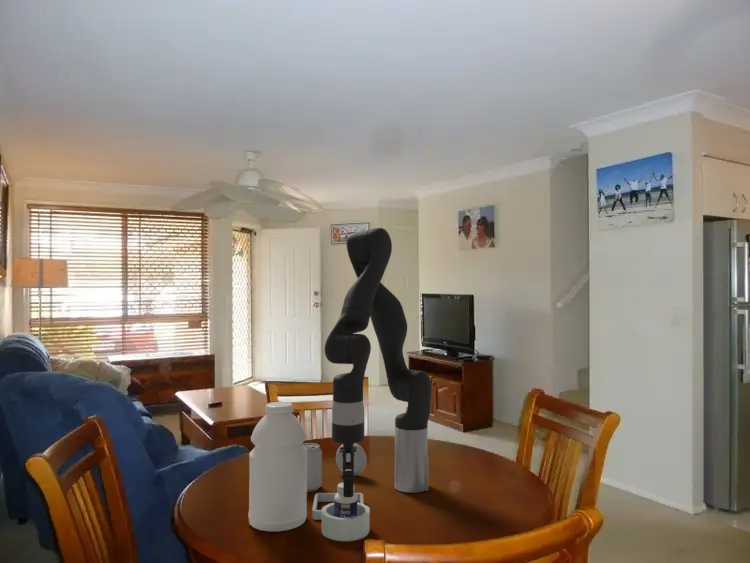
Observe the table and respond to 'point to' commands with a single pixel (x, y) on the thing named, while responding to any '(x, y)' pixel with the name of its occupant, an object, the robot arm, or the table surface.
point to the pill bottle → (345, 504)
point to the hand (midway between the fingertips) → (348, 489)
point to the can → (313, 466)
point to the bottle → (278, 471)
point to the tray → (327, 498)
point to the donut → (360, 459)
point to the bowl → (345, 524)
